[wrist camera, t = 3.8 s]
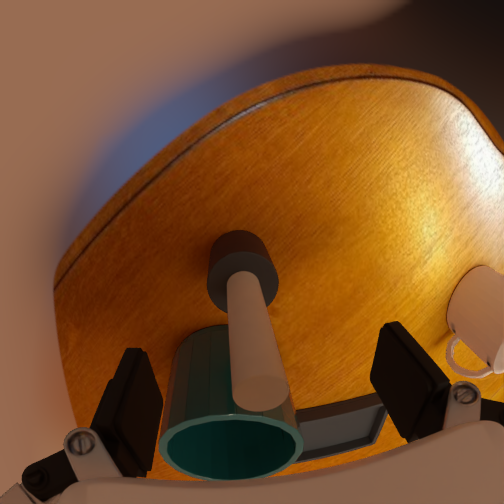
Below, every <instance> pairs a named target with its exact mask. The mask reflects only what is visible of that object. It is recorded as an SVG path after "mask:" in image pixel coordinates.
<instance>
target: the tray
mask: <svg viewBox="0 0 504 504" xmlns="http://www.w3.org/2000/svg"><path fill="white" fill-rule="evenodd" d="M296 414H297V417H298V421H299V424H300V428H301V431H302V435H303V438H304V447H303V452H302V453H301V455H300V456H299V457H298V459H297V460H296V461H295V462H294V463H293V464H295V463H301V462H306V461H311V460H316V459H321V458H325V457H329V456H334V455H338V454H342V453H345V452H349V451H353V450H356V449H360V448H363V447H366V446H369V445H373V444H375V442H376V440H377V438H378V436H379V433H380V431H381V429H382V427H383V424H384V422H385V420H386V417H387V415H388V412H387V410H386V408H385V406H384V405H383V403H382V401H381V399H380V398H379V396H378V394H377V393H373V394H370V395H366V396H362V397H358V398H354V399H350V400H346V401H342V402H337V403H333V404H328V405H323V406H318V407H313V408H308V409H302V410H296Z"/></svg>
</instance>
